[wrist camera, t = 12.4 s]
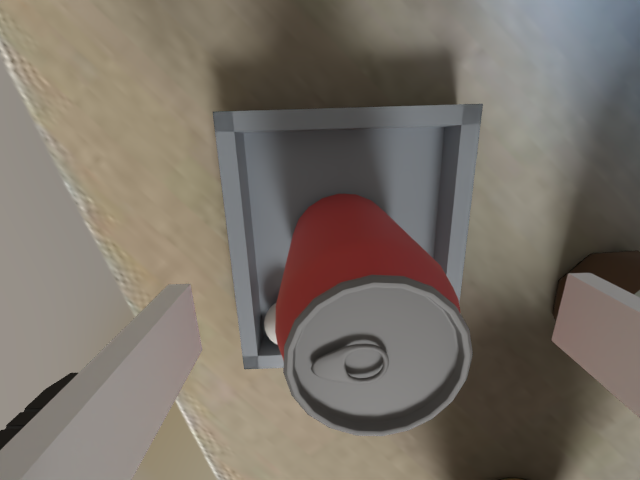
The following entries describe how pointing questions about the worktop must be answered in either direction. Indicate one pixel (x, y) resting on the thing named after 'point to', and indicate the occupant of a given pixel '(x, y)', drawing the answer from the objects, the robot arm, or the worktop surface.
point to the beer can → (367, 322)
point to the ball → (271, 323)
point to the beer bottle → (607, 272)
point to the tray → (339, 188)
